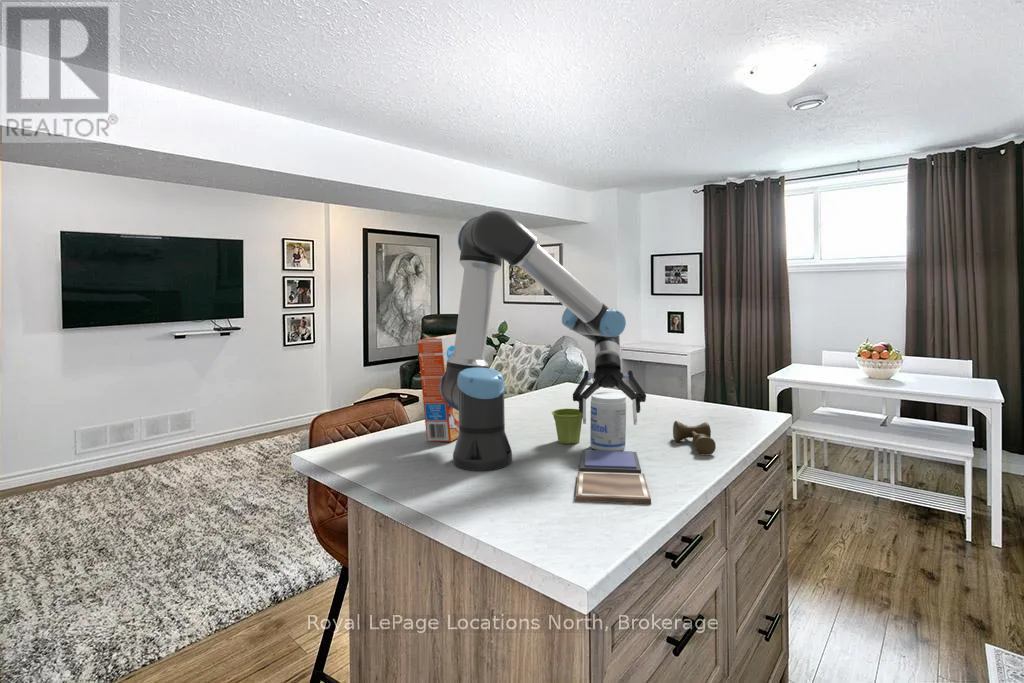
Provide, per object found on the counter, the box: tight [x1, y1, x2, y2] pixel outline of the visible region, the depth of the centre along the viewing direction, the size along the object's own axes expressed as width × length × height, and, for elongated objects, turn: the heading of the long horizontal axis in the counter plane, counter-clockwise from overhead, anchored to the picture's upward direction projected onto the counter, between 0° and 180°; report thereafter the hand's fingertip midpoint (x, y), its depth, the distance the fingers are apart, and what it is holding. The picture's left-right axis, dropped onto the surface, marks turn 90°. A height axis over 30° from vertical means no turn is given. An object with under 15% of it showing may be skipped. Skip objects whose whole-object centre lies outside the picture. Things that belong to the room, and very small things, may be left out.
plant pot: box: [551, 408, 583, 445], centre depth 149 cm, size 9×9×9 cm
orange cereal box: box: [417, 333, 459, 442], centre depth 161 cm, size 23×8×30 cm, turn 158°
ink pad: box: [579, 449, 642, 474], centre depth 128 cm, size 14×14×2 cm
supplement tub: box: [589, 391, 627, 451], centre depth 142 cm, size 10×10×15 cm
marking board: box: [575, 471, 652, 505], centre depth 112 cm, size 15×15×1 cm
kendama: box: [672, 420, 717, 455], centre depth 143 cm, size 6×10×20 cm
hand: (609, 421), depth 141 cm, fingers open, 13 cm apart
